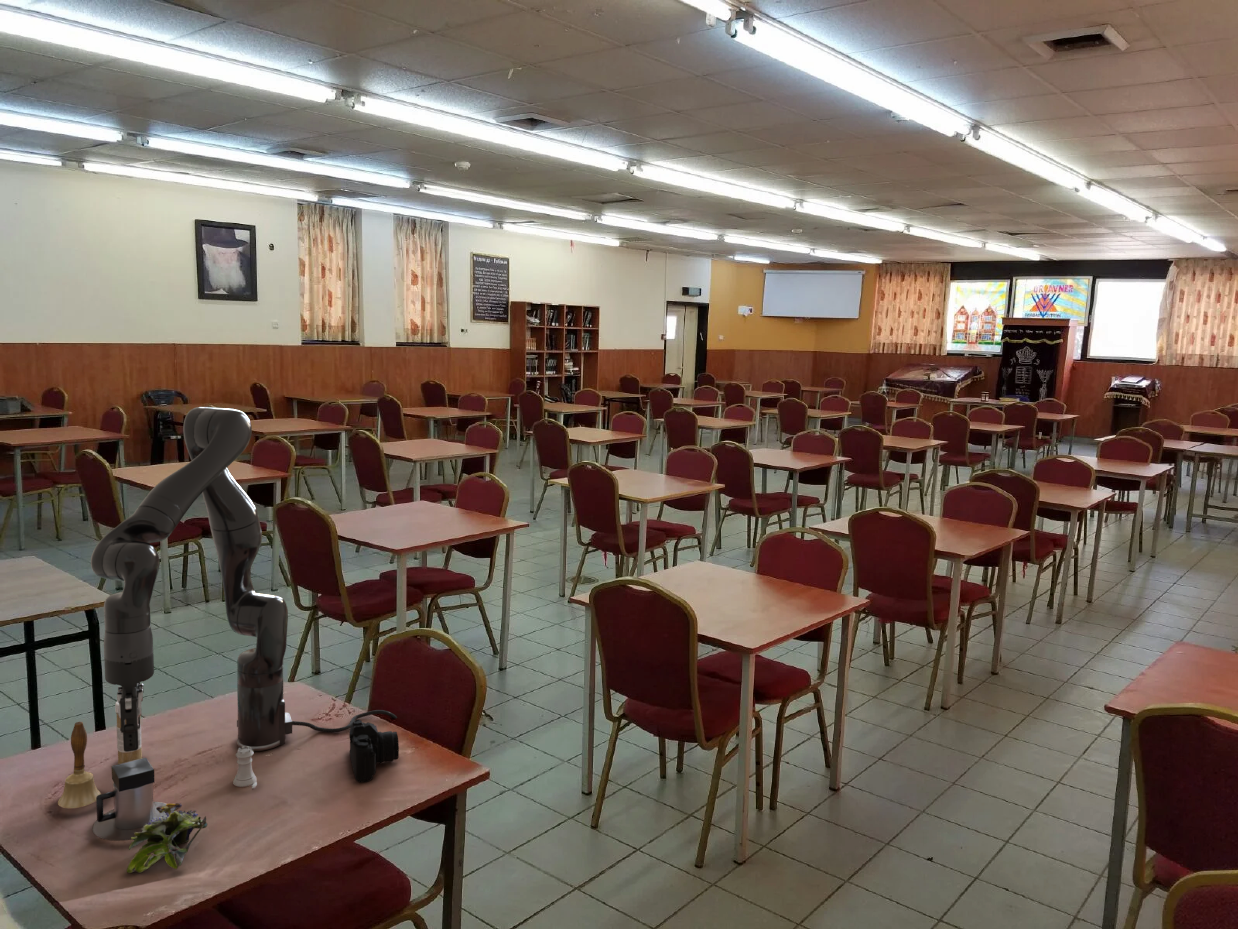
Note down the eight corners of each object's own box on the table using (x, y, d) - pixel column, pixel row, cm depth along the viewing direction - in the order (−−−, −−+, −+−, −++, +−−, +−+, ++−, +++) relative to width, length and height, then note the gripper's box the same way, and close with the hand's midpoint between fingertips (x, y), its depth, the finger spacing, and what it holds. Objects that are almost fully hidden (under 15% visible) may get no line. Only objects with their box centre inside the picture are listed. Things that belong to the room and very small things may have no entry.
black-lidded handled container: (148, 807, 162) (147, 756, 161) (157, 822, 158) (156, 769, 156) (93, 823, 157) (91, 770, 155) (101, 838, 152) (99, 784, 151)
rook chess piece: (262, 784, 175) (262, 746, 174) (245, 795, 171) (245, 756, 169) (244, 780, 176) (243, 742, 175) (227, 790, 172) (226, 751, 171)
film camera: (402, 778, 180) (403, 736, 179) (353, 785, 176) (353, 742, 175) (392, 745, 194) (393, 706, 193) (346, 751, 190) (346, 711, 189)
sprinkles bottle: (139, 756, 184) (138, 694, 182) (144, 764, 180) (143, 702, 178) (115, 761, 181) (113, 699, 179) (119, 770, 177) (117, 707, 175)
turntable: (173, 801, 167) (173, 795, 167) (176, 837, 156) (176, 830, 156) (94, 816, 161) (93, 810, 161) (90, 854, 150) (90, 847, 149)
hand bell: (90, 788, 170) (87, 710, 168) (114, 801, 166) (112, 721, 164) (44, 806, 163) (40, 725, 161) (68, 821, 159) (65, 737, 157)
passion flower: (170, 879, 152) (207, 809, 157) (191, 898, 145) (229, 824, 149) (107, 862, 146) (148, 789, 151) (125, 881, 138) (167, 804, 143)
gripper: (107, 640, 158) (110, 726, 161) (100, 669, 146) (104, 761, 148) (154, 636, 162) (157, 719, 164) (152, 664, 149) (155, 754, 151)
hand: (132, 739), depth 156 cm, fingers open, 8 cm apart
